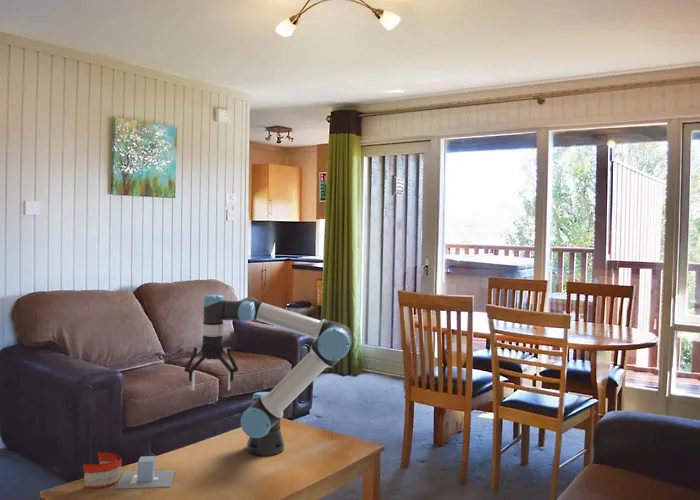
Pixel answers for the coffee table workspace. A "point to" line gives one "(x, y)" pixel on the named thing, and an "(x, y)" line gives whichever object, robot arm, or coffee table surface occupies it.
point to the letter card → (130, 481)
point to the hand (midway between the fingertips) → (211, 389)
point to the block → (146, 469)
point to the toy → (102, 471)
